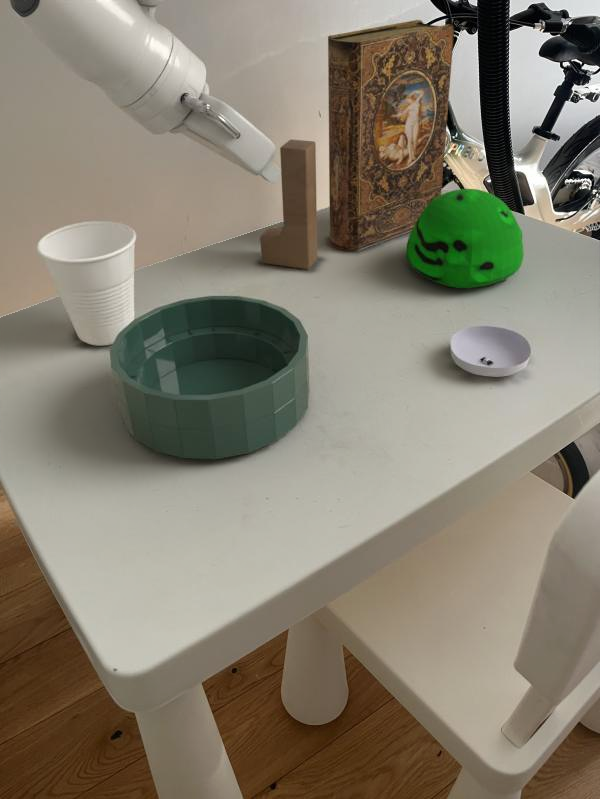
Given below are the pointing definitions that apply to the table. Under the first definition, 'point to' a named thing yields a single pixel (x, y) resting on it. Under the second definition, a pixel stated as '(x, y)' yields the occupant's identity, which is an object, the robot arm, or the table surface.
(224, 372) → the bowl
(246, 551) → the table surface
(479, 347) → the white shallow round dish
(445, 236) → the toy
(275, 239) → the wooden block
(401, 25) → the book
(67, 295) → the cup
